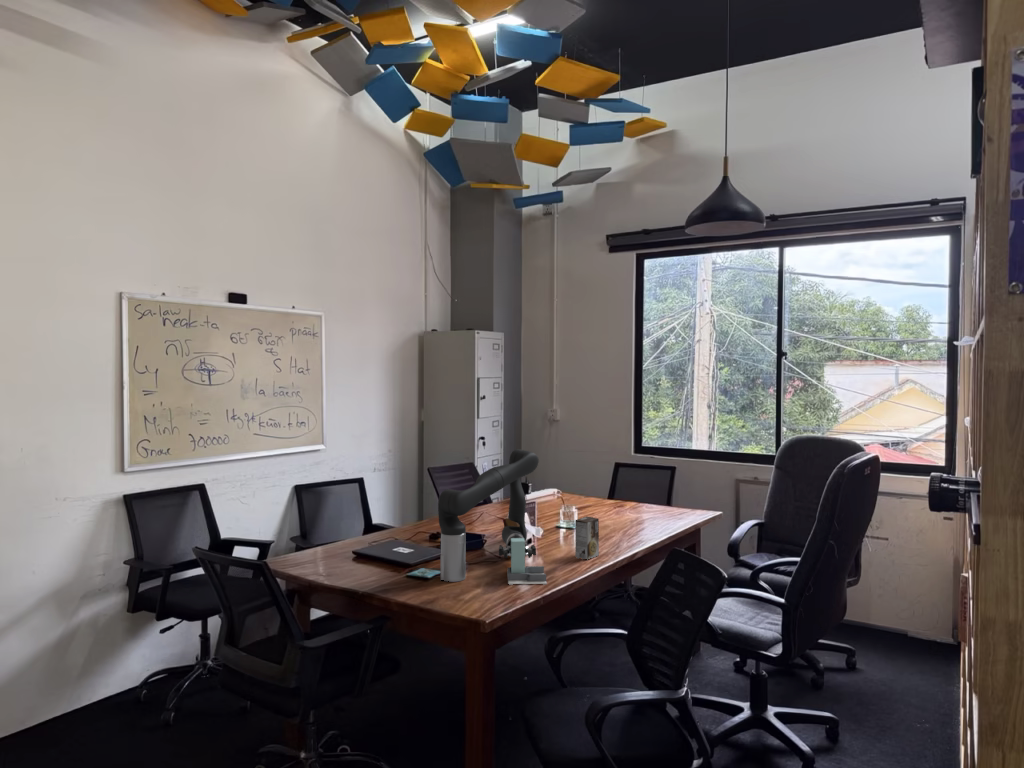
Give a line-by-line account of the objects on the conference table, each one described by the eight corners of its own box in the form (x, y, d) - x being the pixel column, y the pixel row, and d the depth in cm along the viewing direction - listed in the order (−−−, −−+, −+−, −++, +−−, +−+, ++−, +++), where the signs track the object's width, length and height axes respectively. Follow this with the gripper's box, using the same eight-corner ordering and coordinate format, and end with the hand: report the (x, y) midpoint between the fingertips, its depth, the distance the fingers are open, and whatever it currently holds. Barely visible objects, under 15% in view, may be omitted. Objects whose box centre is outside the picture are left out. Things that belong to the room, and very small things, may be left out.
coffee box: (586, 553, 284) (586, 516, 284) (599, 556, 280) (599, 518, 280) (574, 557, 277) (574, 519, 277) (587, 560, 273) (587, 521, 273)
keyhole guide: (508, 584, 241) (508, 576, 241) (507, 572, 256) (507, 565, 256) (546, 584, 241) (546, 576, 241) (543, 572, 256) (543, 564, 256)
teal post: (511, 579, 246) (511, 541, 246) (510, 575, 251) (510, 538, 251) (524, 578, 246) (524, 541, 246) (524, 574, 251) (524, 538, 251)
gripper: (498, 535, 262) (499, 545, 246) (534, 535, 263) (537, 545, 247) (498, 554, 262) (499, 565, 246) (533, 553, 263) (537, 565, 247)
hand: (518, 555), depth 246 cm, fingers open, 8 cm apart
